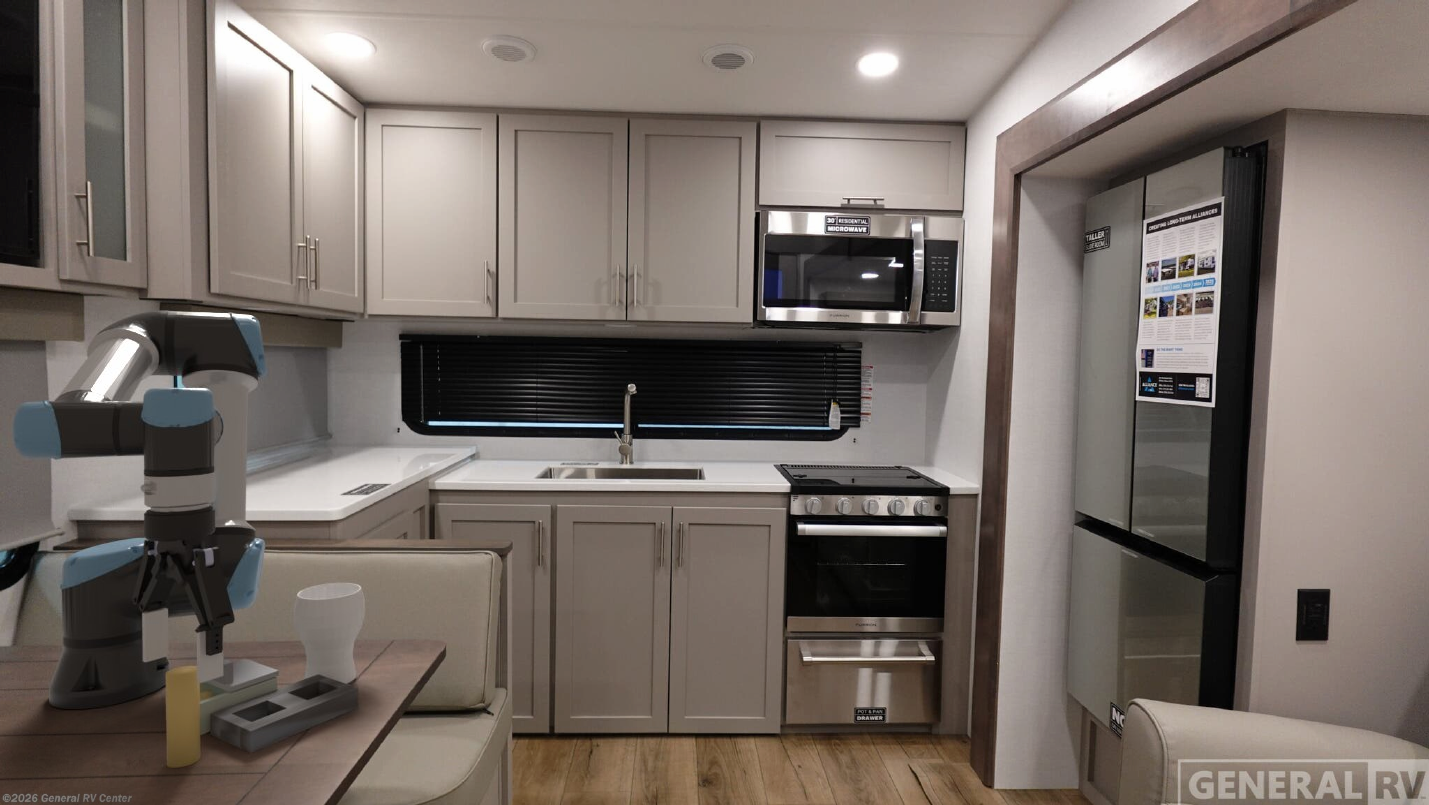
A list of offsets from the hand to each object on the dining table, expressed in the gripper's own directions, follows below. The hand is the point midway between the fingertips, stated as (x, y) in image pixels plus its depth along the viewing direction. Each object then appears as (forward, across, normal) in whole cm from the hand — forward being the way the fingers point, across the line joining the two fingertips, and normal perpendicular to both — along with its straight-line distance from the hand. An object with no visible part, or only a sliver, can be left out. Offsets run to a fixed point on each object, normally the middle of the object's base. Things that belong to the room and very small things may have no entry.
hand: (182, 668), depth 97 cm
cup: (+12, -8, +26) cm, 30 cm away
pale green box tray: (+12, -10, +10) cm, 19 cm away
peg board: (+12, 0, +14) cm, 18 cm away
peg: (+12, 0, 0) cm, 12 cm away
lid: (+8, -10, +13) cm, 18 cm away
